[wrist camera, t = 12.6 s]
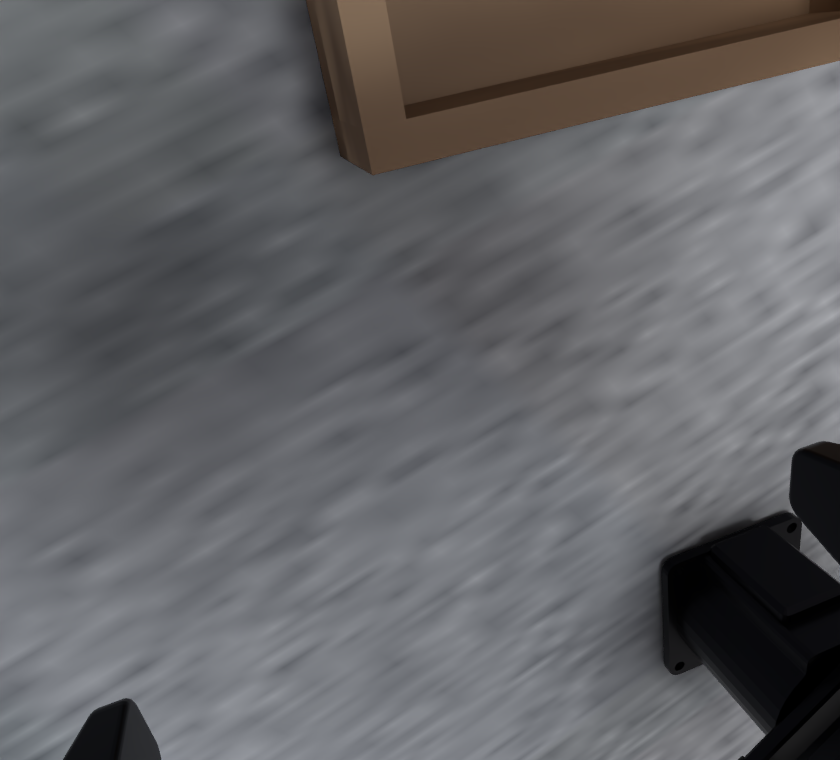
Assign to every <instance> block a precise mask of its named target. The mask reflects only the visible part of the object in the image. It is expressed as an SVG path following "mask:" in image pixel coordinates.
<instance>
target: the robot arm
mask: <svg viewBox="0 0 840 760" xmlns="http://www.w3.org/2000/svg"><path fill="white" fill-rule="evenodd" d="M789 500H790V504H791V507H792V509H793V511H794V512H795V514H796V515H797V516H795V515H794V514H793V513H785V514H782V515H780V516H777V517H775V518H772V519H770V520H767V521H764V522H762V523H759V524H757V525H754V526H752V527H749V528H746V529H744V530H741V531H739V532H736V533H733V534H731V535H728V536H726V537H723V538H721V539H718V540H715V541H713V542H710V543H708V544H705V545H703V546H700V547H697V548H695V549H692V550H690V551H687V552H684V553H682V554H679V555H677V556H674V557H672V558H670V559H668V560H667V561H666V562H665V563H664V565H663V567H662V597H663V634H664V664H665V667H666V668H667V669H668V670H669V672H670V673H671V674H673V675H678V674H681V673H683V672H685V671H688V670H690V669H693V668H695V667H697V666H700V665H702V664H704V665H705V666H706V667H707V668H708V670H709V671H710V672H711V673H712V674H713V675H714V676H715V678H716V679H717V680H718V681H719V682H720V683H721V684H722V686H723V687H724V688H725V689H726V690H727V691H728V692H729V694H730V695H731V696H732V697H733V698H734V699H735V700H736V702H737V703H738V704H739V705H740V706H741V707H742V708H743V710H744V711H745V712H746V713H747V714H748V715H749V716H750V718H751V719H752V720H753V721H754V722H755V723H756V725H757V726H758V727H759V728H760V729H761V730H762V731H763V733H764V734H765V735H766V736H765V737H764V738H763V739H762V740H761V741H760V742H759V743H758V744H757V745H756V746H755V747H754V748H753V749H752V750H751V751H750V752H749V753H748V754H747V755H746V756H745V757H743V756H741V757H740V758H739V759H738V760H840V582H838V581H837V580H836V579H834V578H833V577H832V576H831V575H829V574H828V573H827V572H826V571H824V570H823V569H822V568H821V567H819V566H818V565H817V564H815V563H814V562H813V561H812V560H810V559H809V558H808V557H807V556H805V555H804V554H803V553H802V552H800V551H799V550H800V539H801V528H802V522H803V523H804V525H805V526H806V527H807V528H808V529H809V530H810V531H811V533H812V534H813V535H814V536H815V537H816V538H817V539H818V541H819V542H820V543H821V544H822V545H823V546H824V548H825V549H826V550H827V551H828V552H829V553H830V554H831V556H832V557H833V558H834V559H835V560H836V561H837V562H838V564H839V565H840V444H836V443H832V442H826V441H821V442H817V443H814V444H811V445H809V446H806V447H803V448H800V449H798V450H797V451H796V452H795V453H794V455H793V457H792V464H791V477H790V490H789ZM801 521H802V522H801ZM63 760H161V755H160V751H159V748H158V745H157V742H156V740H155V738H154V736H153V735H152V733H151V731H150V729H149V727H148V725H147V723H146V722H145V720H144V718H143V716H142V714H141V712H140V710H139V709H138V707H137V705H136V703H135V702H134V701H133V700H131V699H128V698H125V699H122V700H119V701H116V702H114V703H111V704H108V705H105V706H103V707H100V708H98V709H96V710H94V711H93V712H92V713H91V714H90V716H89V717H88V719H87V720H86V722H85V724H84V725H83V727H82V729H81V730H80V732H79V734H78V735H77V737H76V739H75V740H74V742H73V744H72V745H71V747H70V749H69V750H68V752H67V754H66V755H65V757H64V759H63Z"/></svg>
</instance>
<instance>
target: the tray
mask: <svg viewBox="0 0 840 760" xmlns="http://www.w3.org/2000/svg"><path fill="white" fill-rule="evenodd" d="M306 3H307V7H308V12H309V16H310V21H311V25H312V30H313V34H314V39H315V43H316V48H317V52H318V57H319V61H320V66H321V70H322V75H323V79H324V84H325V88H326V93H327V97H328V102H329V106H330V111H331V115H332V120H333V124H334V129H335V133H336V138H337V142H338V147H339V151H340V156H341V157H343V158H344V159H346V160H348V161H349V162H351V163H353V164H354V165H356V166H358V167H359V168H361V169H363V170H365V171H366V172H368V173H370V174H371V175H376V174H380V173H384V172H388V171H392V170H396V169H400V168H404V167H408V166H412V165H416V164H420V163H424V162H428V161H432V160H437V159H441V158H445V157H449V156H453V155H457V154H461V153H465V152H469V151H473V150H477V149H481V148H485V147H489V146H494V145H498V144H502V143H506V142H510V141H514V140H518V139H522V138H526V137H530V136H534V135H538V134H542V133H546V132H551V131H555V130H559V129H563V128H567V127H571V126H575V125H579V124H583V123H587V122H591V121H595V120H599V119H603V118H608V117H612V116H616V115H620V114H624V113H628V112H632V111H636V110H640V109H644V108H648V107H652V106H656V105H660V104H664V103H669V102H673V101H677V100H681V99H685V98H689V97H693V96H697V95H701V94H705V93H709V92H713V91H717V90H721V89H726V88H730V87H734V86H738V85H742V84H746V83H750V82H754V81H758V80H762V79H766V78H770V77H774V76H778V75H783V74H787V73H791V72H795V71H799V70H803V69H807V68H811V67H815V66H819V65H823V64H827V63H831V62H835V61H840V0H306Z"/></svg>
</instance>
